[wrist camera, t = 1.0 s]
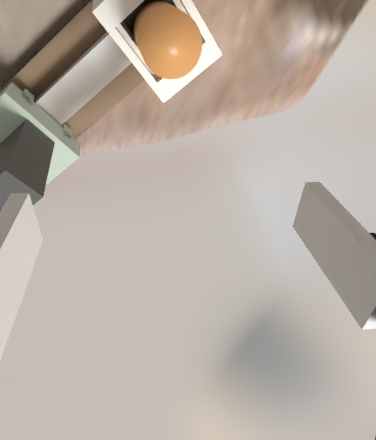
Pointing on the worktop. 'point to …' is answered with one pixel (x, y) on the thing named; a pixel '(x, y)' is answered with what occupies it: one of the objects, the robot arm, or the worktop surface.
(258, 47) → the worktop surface
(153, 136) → the worktop surface
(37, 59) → the track
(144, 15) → the button
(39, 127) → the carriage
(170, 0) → the cabinet
